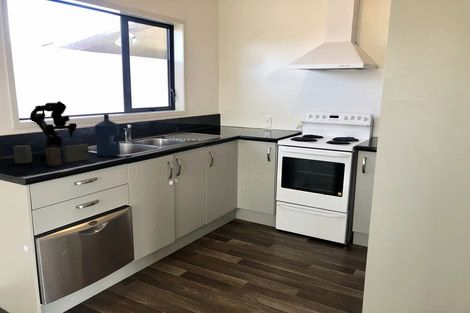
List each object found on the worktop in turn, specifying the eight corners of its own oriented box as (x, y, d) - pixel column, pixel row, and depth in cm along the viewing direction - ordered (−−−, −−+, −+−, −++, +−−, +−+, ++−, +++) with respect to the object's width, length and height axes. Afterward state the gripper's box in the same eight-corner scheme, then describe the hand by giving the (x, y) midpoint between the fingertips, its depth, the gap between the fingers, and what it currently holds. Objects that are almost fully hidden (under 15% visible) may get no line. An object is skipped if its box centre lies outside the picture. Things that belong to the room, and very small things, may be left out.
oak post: (47, 164, 221) (45, 148, 219) (56, 162, 225) (54, 147, 223) (52, 165, 216) (50, 149, 215) (61, 164, 221) (60, 148, 219)
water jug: (94, 156, 244) (91, 115, 239) (99, 152, 260) (96, 113, 254) (118, 156, 247) (116, 115, 242) (121, 152, 262) (119, 113, 257)
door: (65, 163, 223) (64, 147, 221) (63, 162, 224) (62, 146, 222) (90, 159, 234) (88, 144, 233) (87, 158, 236) (86, 143, 234)
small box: (32, 161, 230) (30, 145, 228) (27, 163, 224) (26, 146, 222) (19, 161, 229) (17, 145, 227) (14, 163, 224) (12, 146, 222)
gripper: (44, 112, 226) (51, 132, 222) (75, 111, 239) (82, 130, 235) (41, 122, 234) (48, 142, 229) (71, 120, 247) (78, 139, 242)
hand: (64, 138), depth 233 cm, fingers open, 9 cm apart
